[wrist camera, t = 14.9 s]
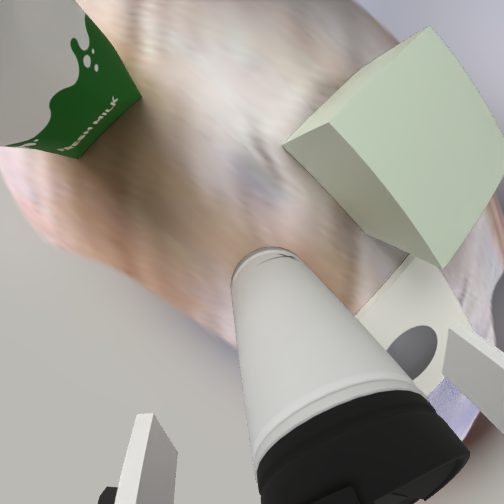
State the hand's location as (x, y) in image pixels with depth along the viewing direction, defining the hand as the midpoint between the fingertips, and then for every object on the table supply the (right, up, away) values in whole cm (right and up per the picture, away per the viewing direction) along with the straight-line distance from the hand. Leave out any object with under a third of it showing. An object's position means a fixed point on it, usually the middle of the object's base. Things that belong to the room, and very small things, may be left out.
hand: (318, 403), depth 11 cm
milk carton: (-16, +18, +8) cm, 25 cm away
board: (+14, -5, +17) cm, 22 cm away
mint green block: (+7, +14, +11) cm, 19 cm away
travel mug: (-1, +4, +13) cm, 14 cm away
